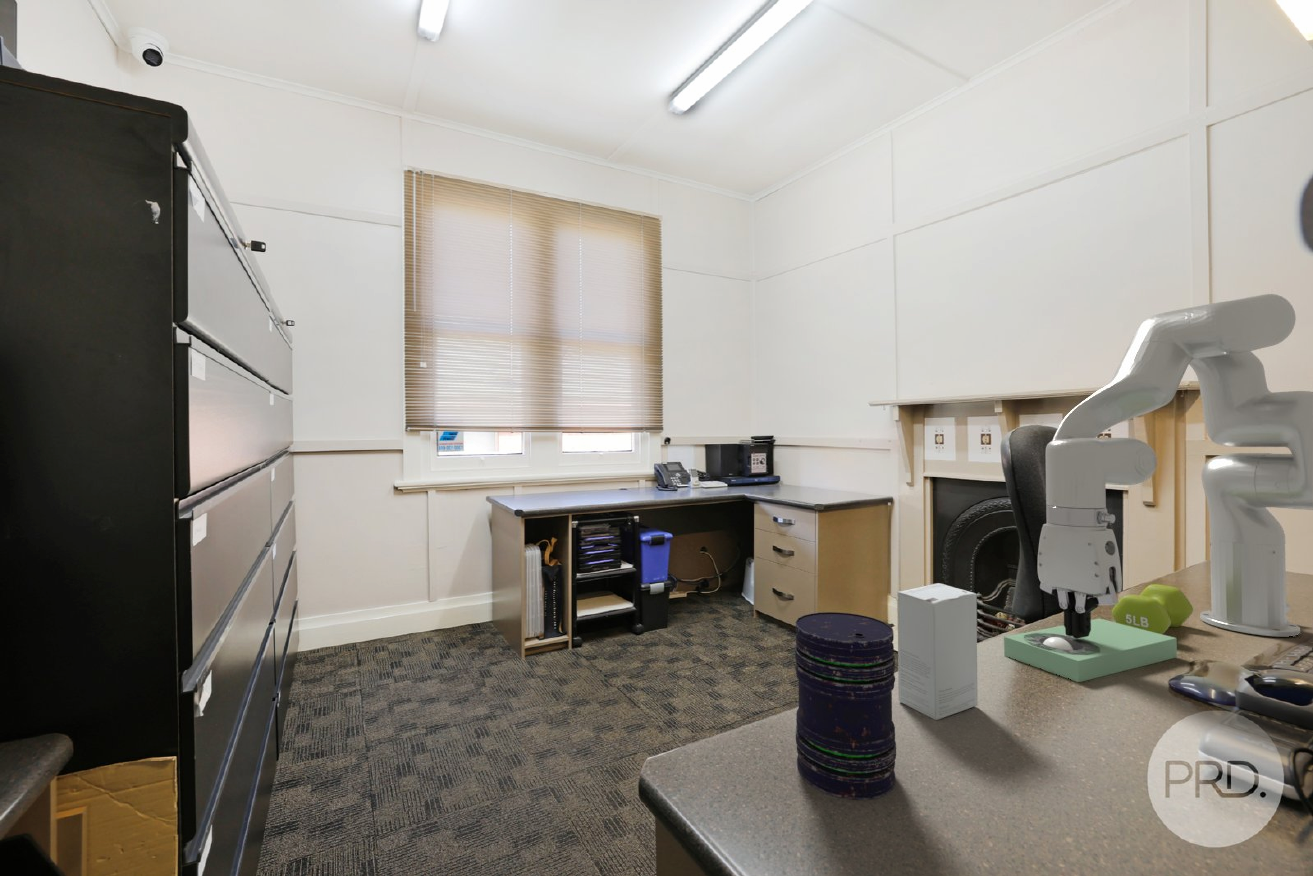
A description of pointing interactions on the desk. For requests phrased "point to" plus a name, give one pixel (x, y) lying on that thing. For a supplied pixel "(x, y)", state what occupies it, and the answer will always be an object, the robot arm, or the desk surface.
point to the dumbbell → (1153, 609)
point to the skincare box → (937, 649)
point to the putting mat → (1091, 650)
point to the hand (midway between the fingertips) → (1077, 635)
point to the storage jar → (845, 704)
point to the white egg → (1058, 643)
